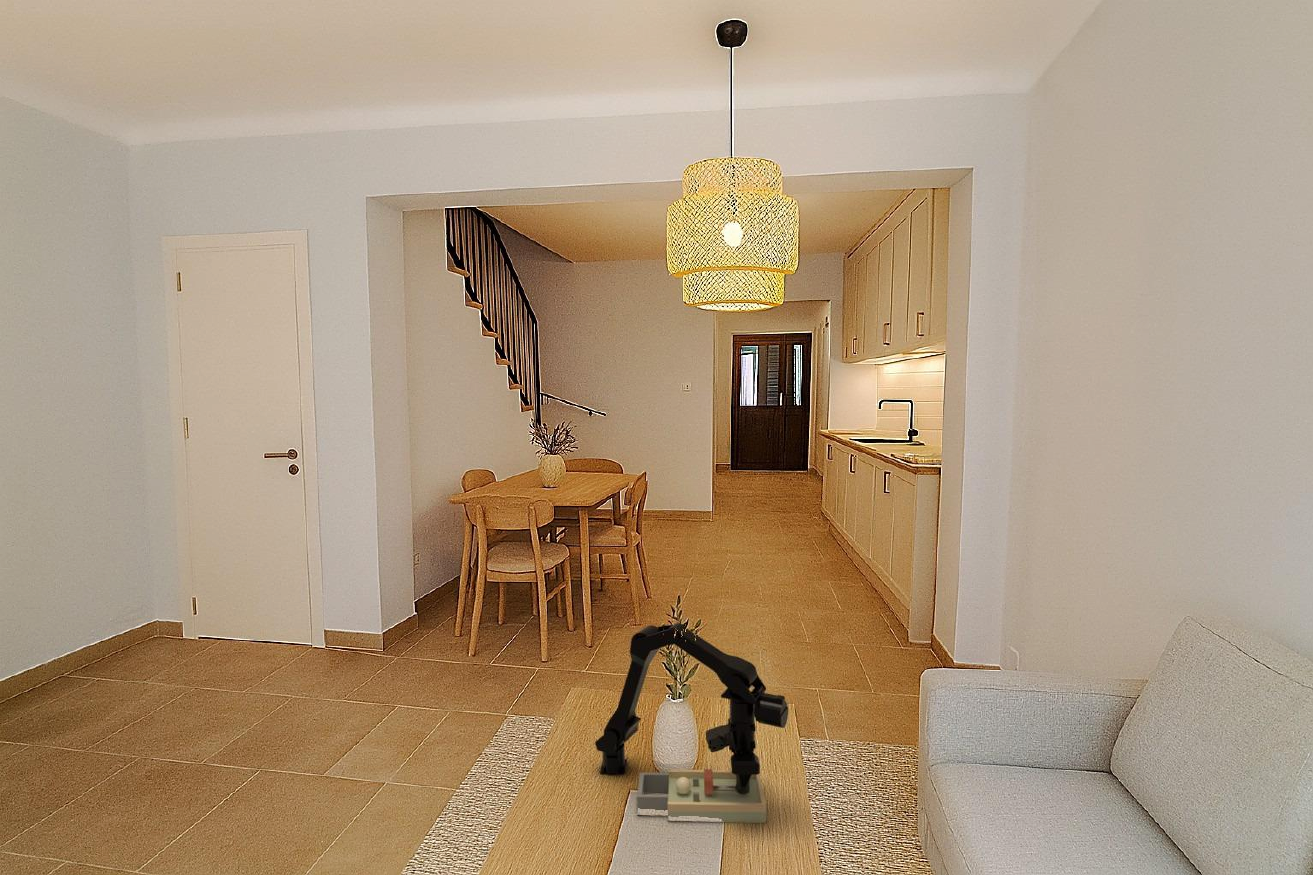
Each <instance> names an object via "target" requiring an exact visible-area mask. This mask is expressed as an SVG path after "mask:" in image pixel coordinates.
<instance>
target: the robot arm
mask: <svg viewBox="0 0 1313 875" xmlns="http://www.w3.org/2000/svg"><path fill="white" fill-rule="evenodd" d="M685 627H686V625H685V624H683V623H679V622H677V623H674V624H665V625H660V626H656V625H652V624H649V625H647V626H645V627H644V628H642V629H640V630H639V631H638V632H636V633H635V634H633V636H632V637H631V640H630V646H629V654H630V659H631V661H630V664H629V669H628V671H627V675H626V678H625V681H624V684H623V688H622V691H621V695H620V698H619V701H618V704H617V708H616V710H615V711H614V712H613V714H612V715H611V717H610V718H609V720H608V721H607V723H606V726H605V727H604V729H603V735H601V737H599V738H598V739H596V741H595V743H594V744H595V748H596V750H597V751H598V752H602V761H601V765H600V770H599V774H600V775H625V774H626V773H627V765H628V759H627V758H626V756H625V752H626V751H625V748H626V747H625V743H626V742H628V741H629V740H630V739H631V737H632V736H634V735H635V734H636V733H637V732H639V731H638V730H639V729H638V727H639V724H640V721H641V720H642V719H641V717H639V716H637V714H636V709H637V705H638V702H639V700H640V695H641V693H642V689H643V686H644V683H645V681H646V680H645V679H646V677H647V674H648V670H649V667H650V664H651V662H652V660H653V659H654V657H655V656H656V655H657V653H658V652H659V650H660V649H661V648H665V647H667V646H671V645H675V646H676V647H677V648H679V649H680V650H681V651H683V652H685V653H686V654H687V655H688V656H689V655H690V656H691V658H693V659H695V660H697V661H698V662H700V663H701V664H702V665H704V666H705V667H707V668H709V670H712V671H713V672H714V673H715V674H716V675H717V677H718V679H719V681H720V682H721V684H723V685H724V686H725V687H726V689H725V690H724V691H723V692H722V693H721V695H720V697H721V699H726V700H729V717H728V718H727V724H723V725H719V726H716V727H713V728H710V729H707V730H706V731H705V741H706V743H707V746H708V747H707V748H708V749H709V751H710V752H711V753H716V752H720V751H722V750H724V749H725V748H727V747H728V749H729V751H730V752H731V753H732V755H731V756H730V760H729V761H730V770H731V771H732V773H733V774H738V775H739V780H740V784H741V787H746V785H747V783H748V781H749V779H750V777H751V775H758V774H759V773H760V774H761V771H760V770H761V765H760V761H759V760H760V759H759V757H758V756H757V754H756V753H754V752H755V749H757V747H756V746H757V744H756V732H757V731H756V728H757V727H756V722H757V723H759V724H762V725H763V724H764V725H766V726H772V727H777V728H781V729H784V728H785V727H786V725H787V722H788V718H789V706H788V703H787V701H786V697H785V695H781V694H772V693H768V692H767V693H766V691H767V687H766V685H765V684H764V682H763V680H762V679H761V678H760V676H759V675H758V672H757V667H756V666H755V665H754V664H753V663H752V662H750V661H748V660H746V659H744V658H742V657H739V656H735V655H730V654H727V653H726V652H723V651H722V650H720V649H718V648H717V647H716V646H714V645H713V644H711V643H710V642H708V641H706V640H705V639H704V638H702V637H701V636H699V635H698V634H696V641H695V635H694V634H695V632H693V631H691V630H690V629H688V628H687V629H686V632H685V634H684V636H682V635H681V631H683V629H684V628H685ZM663 628H664V631H663ZM675 628H676V629H677V630H678V631H677V632H676V636H675V638H674V634H675ZM663 633H664V635H663ZM681 636H682V637H681ZM685 640H686V642H685ZM751 687H753V689H752V690H750V688H751Z"/></svg>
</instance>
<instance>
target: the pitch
mask: <svg viewBox="0 0 1313 875" xmlns="http://www.w3.org/2000/svg"><path fill="white" fill-rule="evenodd" d="M712 771H713V785H721V786H736V774H733V773H732V771H731V769H730V770H729V769H728V770H727V769H720V770H719V769H712ZM668 773H669V792H668V793H667V795H668V816H671V817H679V816H699V817H708V818H719V819H722V821H723V822H722V823H741V824H742V823H747V824H748V823H749V824H750V823H752V824H754V823H755V824H757V823H758V824H761V823H763V824H764V823H765V824H766V823H767V804H766V798H765V794H764V788H763V782H762V779H761V772H760V773H759V774H758V775H751V777H750V792H749V793H747V794H739V793H738V792H737V791H713V794H705V793H704V769H669V770H668ZM681 777H686V778H687V779H689V781H690V783H691V788H690V791H689V792H688V793H686V794H680V793H679V792H678V791H677V790H676V781H677V780H678V779H679V778H681ZM668 816H667V817H668Z"/></svg>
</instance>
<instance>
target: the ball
mask: <svg viewBox="0 0 1313 875" xmlns="http://www.w3.org/2000/svg"><path fill="white" fill-rule="evenodd" d="M690 788H691V783H690V781H689V779H687V778H686V777H681V778H679V779H678V780H677V781H676V790H677V791H678V792H679V793H680V794H686V793H688V792H689V791H690Z"/></svg>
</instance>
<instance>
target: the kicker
mask: <svg viewBox="0 0 1313 875" xmlns="http://www.w3.org/2000/svg"><path fill="white" fill-rule="evenodd" d="M703 770H704V793H705V794H713V791H737V792H738V793H739V794H747V793H749V792H750V779H749V781H748V783H747V785H746V787H741V784H740V780H739V775H738V774H736V786H721V785H713V771H712V770H713V769H712V768H705V769H703Z"/></svg>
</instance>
